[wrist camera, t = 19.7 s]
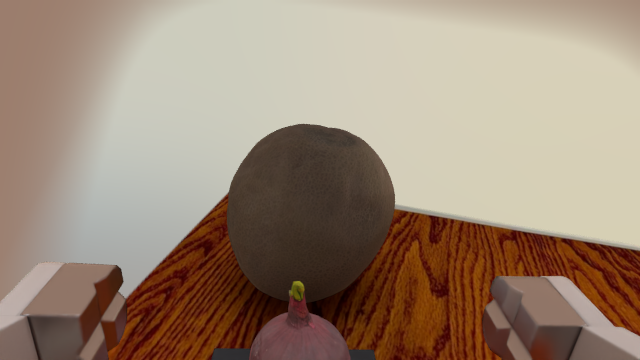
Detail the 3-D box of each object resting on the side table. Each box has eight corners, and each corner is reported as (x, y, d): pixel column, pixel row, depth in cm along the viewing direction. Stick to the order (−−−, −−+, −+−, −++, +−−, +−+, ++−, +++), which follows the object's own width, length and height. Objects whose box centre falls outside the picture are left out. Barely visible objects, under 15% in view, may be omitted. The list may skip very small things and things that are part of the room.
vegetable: (247, 370, 30) (246, 250, 26) (333, 361, 31) (344, 245, 27) (251, 456, 24) (250, 321, 20) (355, 441, 25) (373, 310, 21)
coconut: (352, 362, 31) (374, 178, 25) (196, 304, 36) (184, 137, 30) (397, 264, 43) (419, 123, 37) (275, 230, 48) (278, 100, 42)
